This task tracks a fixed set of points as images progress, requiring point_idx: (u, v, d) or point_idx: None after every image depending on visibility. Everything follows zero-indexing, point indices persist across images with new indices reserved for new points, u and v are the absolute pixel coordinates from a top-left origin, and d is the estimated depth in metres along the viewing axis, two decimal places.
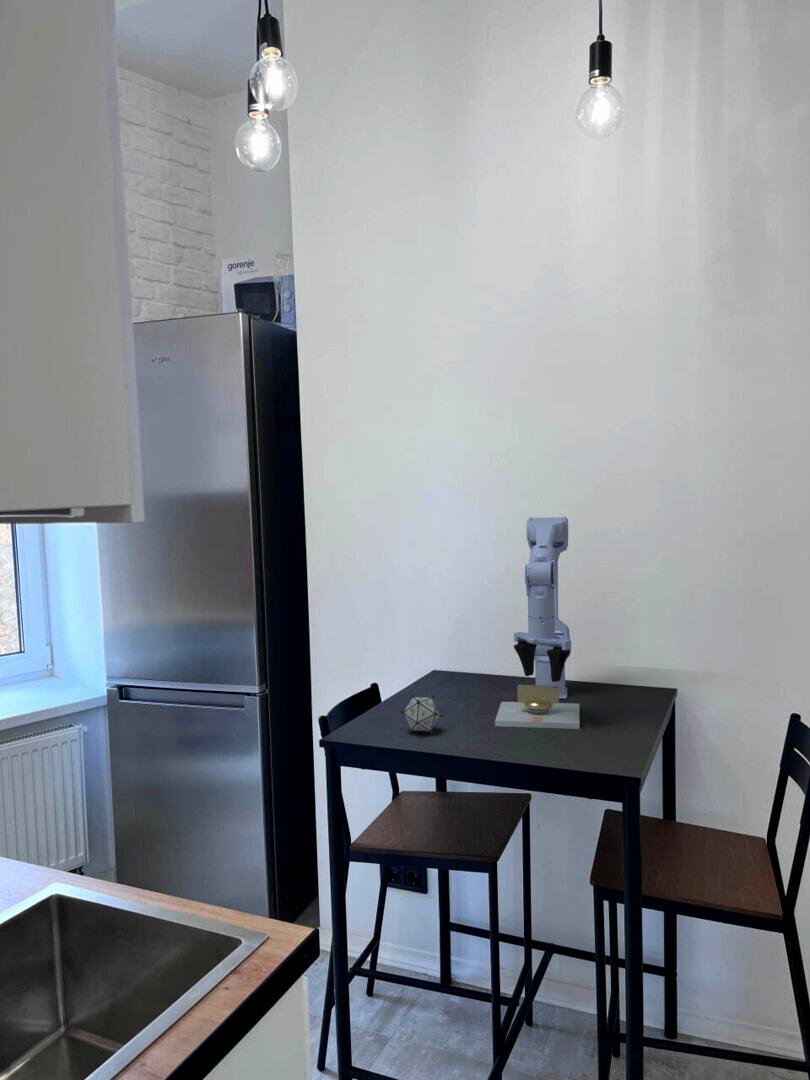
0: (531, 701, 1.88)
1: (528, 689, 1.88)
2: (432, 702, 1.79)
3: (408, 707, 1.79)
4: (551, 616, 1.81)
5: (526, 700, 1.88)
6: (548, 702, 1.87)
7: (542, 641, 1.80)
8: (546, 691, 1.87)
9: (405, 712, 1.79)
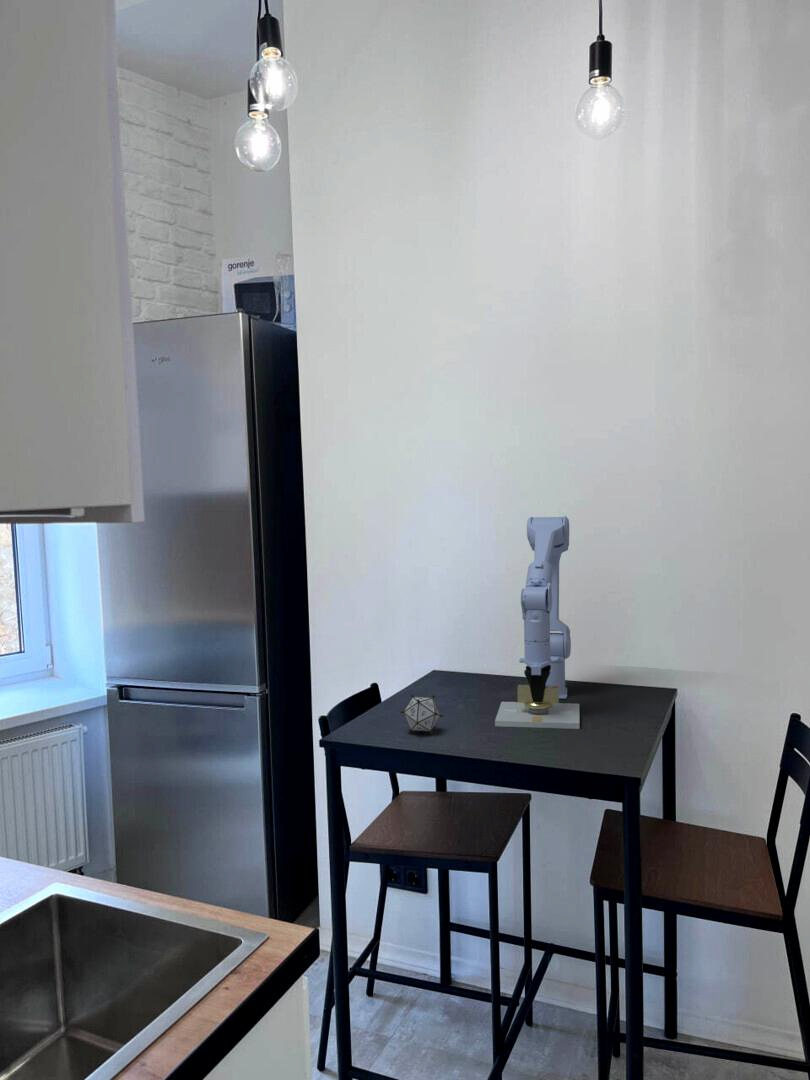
0: (531, 701, 1.88)
1: (528, 689, 1.88)
2: (432, 702, 1.79)
3: (408, 707, 1.79)
4: (546, 640, 1.86)
5: (526, 700, 1.88)
6: (548, 702, 1.87)
7: (526, 663, 1.87)
8: (546, 691, 1.87)
9: (405, 712, 1.79)
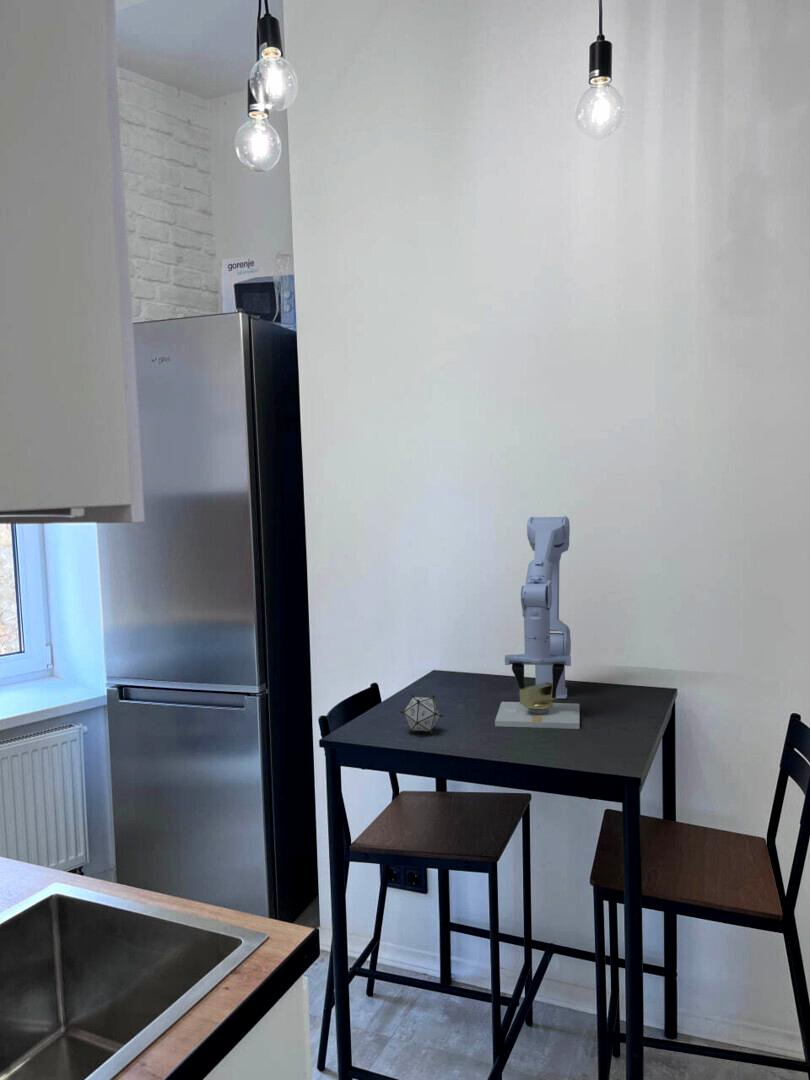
0: (538, 702, 1.87)
1: (536, 690, 1.86)
2: (432, 702, 1.79)
3: (408, 707, 1.79)
4: (546, 637, 1.86)
5: (535, 702, 1.86)
6: (550, 699, 1.89)
7: (547, 660, 1.85)
8: (548, 689, 1.89)
9: (405, 712, 1.79)
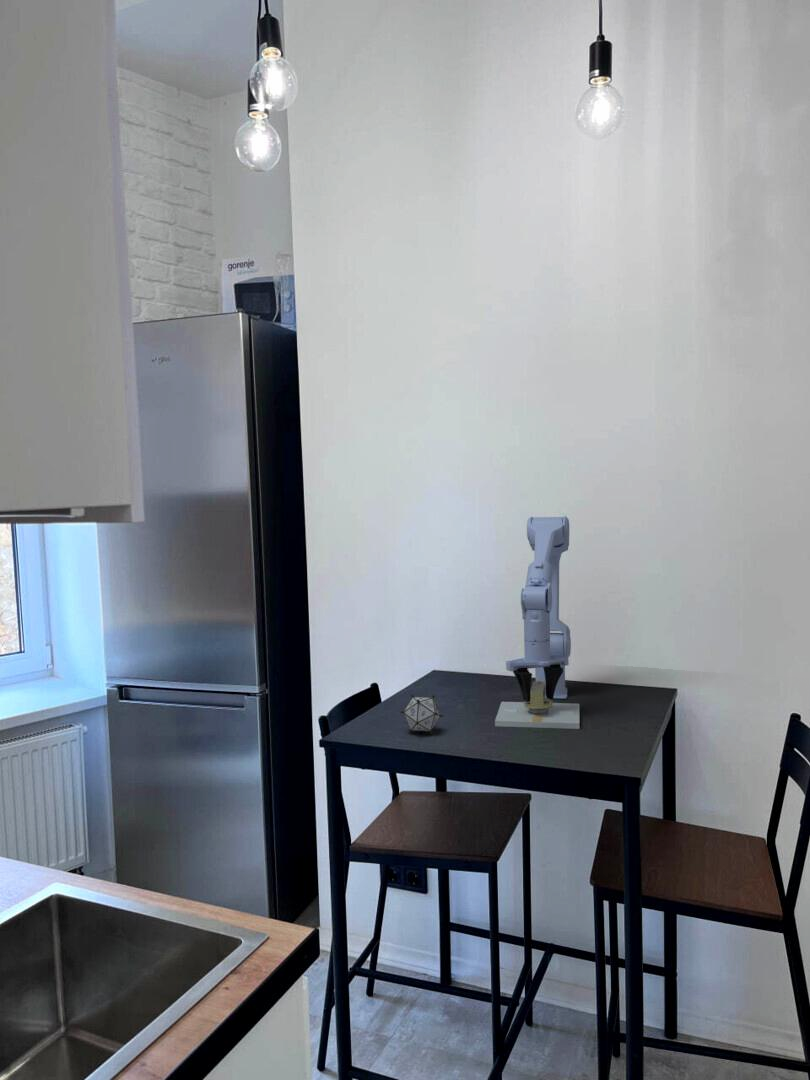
0: (544, 701, 1.87)
1: (543, 690, 1.86)
2: (432, 702, 1.79)
3: (408, 707, 1.79)
4: (546, 639, 1.86)
5: None
6: (545, 698, 1.91)
7: (551, 662, 1.87)
8: None
9: (405, 712, 1.79)
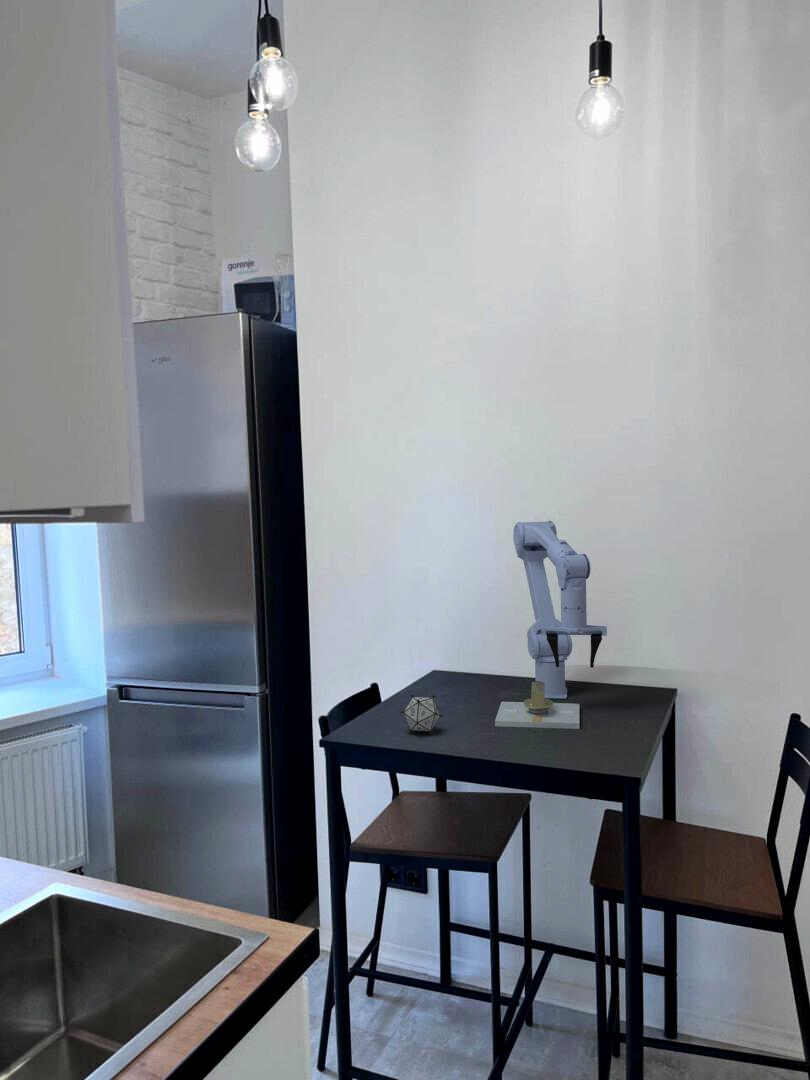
0: (544, 701, 1.87)
1: (544, 690, 1.86)
2: (432, 702, 1.79)
3: (408, 707, 1.79)
4: (585, 606, 1.91)
5: (544, 702, 1.86)
6: (544, 698, 1.91)
7: (584, 630, 1.89)
8: (544, 688, 1.90)
9: (405, 712, 1.79)
